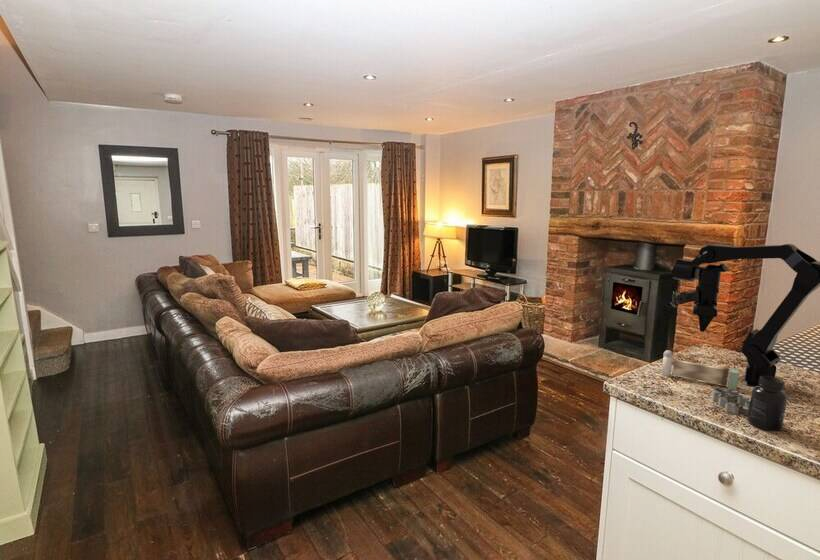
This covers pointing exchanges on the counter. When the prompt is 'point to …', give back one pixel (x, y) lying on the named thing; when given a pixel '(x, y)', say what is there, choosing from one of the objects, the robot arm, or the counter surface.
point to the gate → (701, 372)
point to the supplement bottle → (768, 404)
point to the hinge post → (667, 363)
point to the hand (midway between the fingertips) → (702, 331)
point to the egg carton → (731, 400)
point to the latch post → (733, 378)
